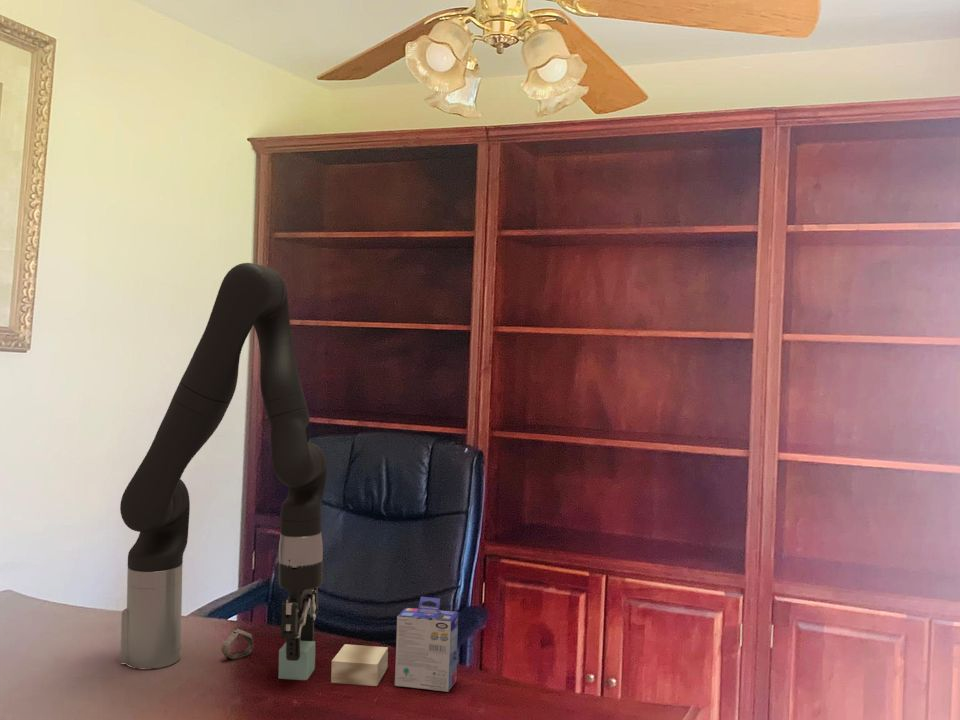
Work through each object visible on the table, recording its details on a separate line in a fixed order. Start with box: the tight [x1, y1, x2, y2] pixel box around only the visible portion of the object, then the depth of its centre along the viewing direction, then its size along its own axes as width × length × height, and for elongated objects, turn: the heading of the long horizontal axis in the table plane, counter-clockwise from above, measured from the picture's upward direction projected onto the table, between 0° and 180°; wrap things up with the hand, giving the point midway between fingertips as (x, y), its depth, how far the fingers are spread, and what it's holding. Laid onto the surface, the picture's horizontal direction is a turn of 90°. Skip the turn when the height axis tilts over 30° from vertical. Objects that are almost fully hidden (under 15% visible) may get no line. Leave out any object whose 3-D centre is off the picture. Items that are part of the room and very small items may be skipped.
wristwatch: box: [221, 628, 255, 660], centre depth 151 cm, size 4×6×5 cm, turn 144°
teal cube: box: [278, 640, 316, 681], centre depth 144 cm, size 5×5×5 cm
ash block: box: [330, 643, 389, 687], centre depth 144 cm, size 8×8×4 cm
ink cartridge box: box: [394, 596, 459, 693], centre depth 141 cm, size 10×6×14 cm, turn 78°
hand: (300, 650), depth 144 cm, fingers open, 8 cm apart
